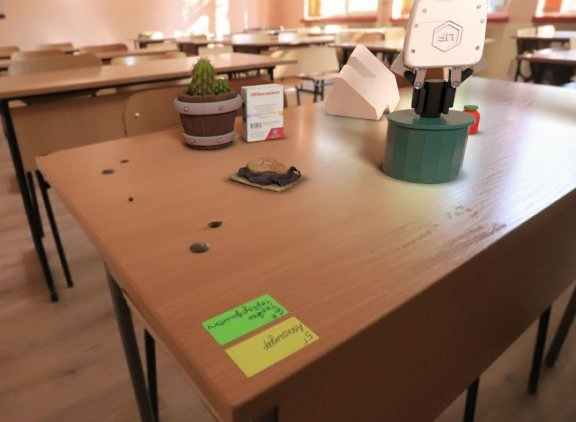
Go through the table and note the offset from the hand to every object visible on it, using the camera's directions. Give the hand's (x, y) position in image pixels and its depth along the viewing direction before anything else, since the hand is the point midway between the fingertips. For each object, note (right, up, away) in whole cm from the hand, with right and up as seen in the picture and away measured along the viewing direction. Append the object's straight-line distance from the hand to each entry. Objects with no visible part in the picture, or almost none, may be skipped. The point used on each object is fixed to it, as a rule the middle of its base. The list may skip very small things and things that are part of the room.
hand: (430, 111), depth 66 cm
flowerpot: (-35, -1, +28) cm, 45 cm away
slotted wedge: (+4, +9, +44) cm, 45 cm away
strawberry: (+21, +1, +24) cm, 31 cm away
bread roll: (-25, -11, +6) cm, 28 cm away
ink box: (-22, +1, +30) cm, 38 cm away
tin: (0, -9, +4) cm, 10 cm away
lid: (0, -1, +1) cm, 1 cm away
